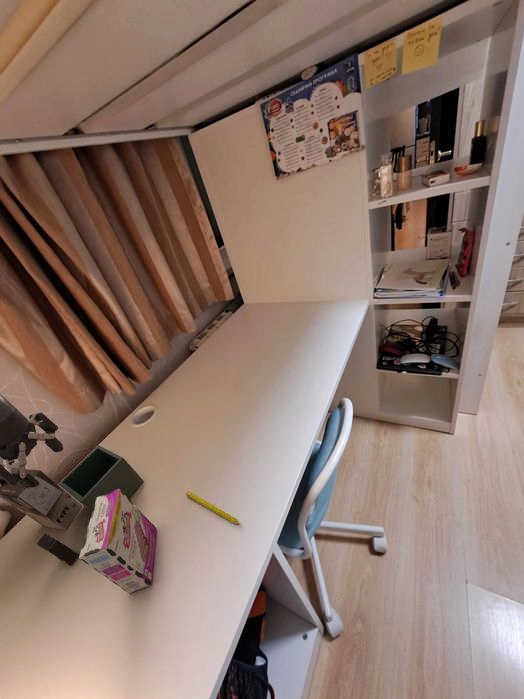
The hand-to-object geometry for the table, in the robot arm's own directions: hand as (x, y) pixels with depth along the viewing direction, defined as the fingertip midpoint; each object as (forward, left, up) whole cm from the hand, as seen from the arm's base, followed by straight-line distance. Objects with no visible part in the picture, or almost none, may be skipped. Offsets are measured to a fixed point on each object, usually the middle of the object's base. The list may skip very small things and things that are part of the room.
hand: (48, 467), depth 64 cm
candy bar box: (+23, -2, -18) cm, 29 cm away
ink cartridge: (+5, -10, -18) cm, 21 cm away
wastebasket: (+2, +5, -18) cm, 19 cm away
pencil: (+31, +12, -18) cm, 38 cm away
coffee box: (-8, -5, -18) cm, 21 cm away
